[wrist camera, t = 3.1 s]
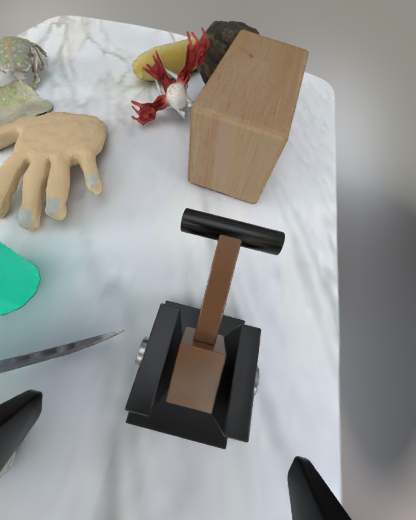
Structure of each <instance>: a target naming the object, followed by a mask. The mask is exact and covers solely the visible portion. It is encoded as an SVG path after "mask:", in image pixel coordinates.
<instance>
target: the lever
mask: <svg viewBox="0 0 416 520" xmlns="http://www.w3.org/2000/svg"><path fill="white" fill-rule="evenodd" d="M181 231H182V232H186V233H190V234H194V235H198V236H201V237H205V238H209V239H213V240H217V241H218V243H217V247H216V251H215V255H214V259H213V263H212V267H211V271H210V275H209V279H208V283H207V286H206V290H205V294H204V298H203V302H202V306H201V310H200V314H199V318H198V322H197V326H196V329H195V328H191V327H186V329H185V331H184V334H183V337H182V339H181V342H180V345H179V349H178V353H177V357H176V361H175V365H174V369H173V373H172V377H171V381H170V384H169V388H168V392H167V396H166V402H169V403H173V404H176V405H180V406H184V407H188V408H191V409H195V410H199V411H203V412H207V413H210V414H211V413H212V411H213V407H214V403H215V399H216V396H217V392H218V388H219V384H220V380H221V376H222V372H223V368H224V364H225V360H226V357H227V355H226V348H225V341H224V336H222V335H218V332H219V328H220V324H221V320H222V316H223V312H224V308H225V304H226V300H227V296H228V293H229V289H230V285H231V281H232V277H233V273H234V269H235V265H236V261H237V257H238V253H239V250H240V246H241V247H245V248H249V249H253V250H257V251H261V252H265V253H269V254H273V255H278V254H279V253H280V251H281V250H282V247H283V244H284V240H285V234H284V232H281V231H277V230H273V229H269V228H265V227H261V226H257V225H253V224H249V223H245V222H241V221H237V220H233V219H229V218H225V217H221V216H217V215H213V214H209V213H205V212H201V211H197V210H193V209H189V208H186V209H185V211H184V213H183V216H182V220H181Z"/></svg>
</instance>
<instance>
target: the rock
mask: <svg viewBox="0 0 416 520" xmlns="http://www.w3.org/2000/svg"><path fill="white" fill-rule="evenodd" d="M240 30H246V31H249V32H252V33H255V34H258V35H259V32H258V31H257V30H256V29H255V28H252V27H249V26H248V25H246V24H245V23H242V22H235V21H230V22H223V21H214V22H213V23H212V24H211V25H210V27H209V28H208V29H207V31H206V32H205V35H206V37H207V39H208V40H209V42H210V46H209V49H208V51H207V55H206V59H205V63H204V64H203V65H201V66H197V69H198V70H199V71H200V74H201V76H202V79H203V81H204V83H205V85H206V83H207V82H208V80H209V79H210V77H211V75H212V74H213V72H214V71H215V69H216V68H217V66H218V65H219V63H220V61H221V60H222V58H223V57H224V55H225V54H226V52H227V50H228V49H229V47H230V46H231V44H232V43H233V41H234V40H235V38H236V36H237V35H238V33H239V32H240ZM207 39H206V43H207ZM202 40H203V35H202V37H201V39H200V40H199V41H200V42H201V41H202Z"/></svg>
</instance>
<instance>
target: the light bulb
mask: <svg viewBox="0 0 416 520" xmlns="http://www.w3.org/2000/svg"><path fill="white" fill-rule="evenodd" d="M15 453H16V451H15V452H14V453H13V455H12V456H11V458H10V459H9V461H8V462H7V464H6V465H5V466H4V468H3V469H2V471H1V472H0V478H1V477H2V476H3V475H4V474H5V473H6V472H7V471H8V470H9V468H10V467H11V465H12V463H13V461H14V458H15Z"/></svg>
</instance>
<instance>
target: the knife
mask: <svg viewBox="0 0 416 520" xmlns="http://www.w3.org/2000/svg"><path fill="white" fill-rule="evenodd" d="M123 331H125V330H123ZM123 331H119V332H114V333H109V334H104V335H99V336H95V337H92V338H88V339H85V340H81V341H78V342H74V343H70V344H67V345H63V346H59V347H55V348H51V349H47V350H43V351H39V352H35V353H31V354H27V355H22V356H18V357H14V358H9V359H5V360H1V361H0V373H3V372H6V371H10V370H13V369H17V368H21V367H24V366H28V365H31V364H35V363H39V362H42V361H46V360H50V359H53V358H57V357H60V356H63V355H67V354H70V353H73V352H76V351H79V350H82V349H85V348H87V347H90V346H93V345H95V344H98V343H100V342H102V341H105V340H107V339H109V338H111V337H113V336H115V335H117V334H119V333H121V332H123Z"/></svg>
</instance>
